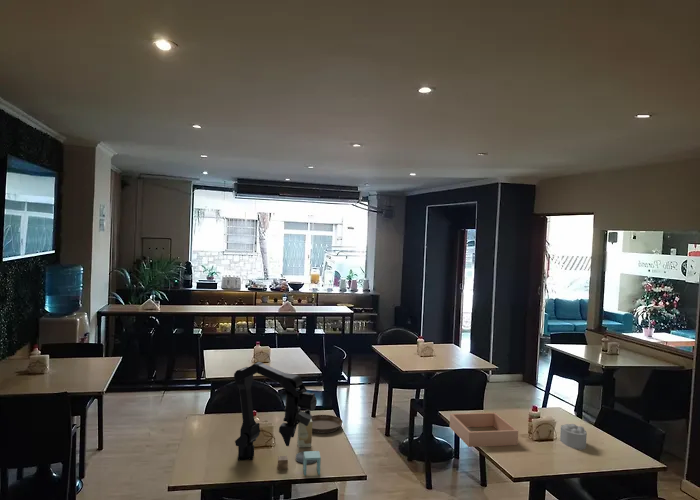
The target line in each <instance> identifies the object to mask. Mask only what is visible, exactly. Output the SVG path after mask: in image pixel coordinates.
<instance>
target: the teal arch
mask: <svg viewBox="0 0 700 500" xmlns="http://www.w3.org/2000/svg"><path fill="white" fill-rule="evenodd" d="M321 459H322V458H321V454H320V451H319V450H312V451H310V450H306V452H304V457H303V463H302V465H303V466H302V469H303V475H304V476H307V466H308V464H307V460H317V461H316V471H317V474H318V475H319V476H320V475H321V463H322V462H321V461H322V460H321Z"/></svg>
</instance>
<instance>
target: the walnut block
mask: <svg viewBox="0 0 700 500" xmlns="http://www.w3.org/2000/svg"><path fill="white" fill-rule="evenodd" d="M288 457H289V456H288V455H280V456H277V469H278V470H279V471H280V470H288V469H289V465H288V464H289V458H288Z"/></svg>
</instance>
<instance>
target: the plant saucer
mask: <svg viewBox="0 0 700 500" xmlns="http://www.w3.org/2000/svg"><path fill="white" fill-rule="evenodd" d="M311 416H312V418H311V419H312V421H313V423H312V433H316V434H328V433H334V432H335V431H337V430H338V429H339V428H340V427H342V424H343V419H341V418H340V417H339V416H335V415H331V414H316V415H315V414H313V415H311Z"/></svg>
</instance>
